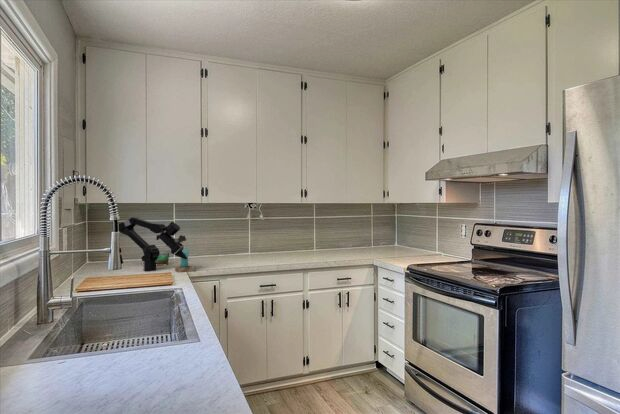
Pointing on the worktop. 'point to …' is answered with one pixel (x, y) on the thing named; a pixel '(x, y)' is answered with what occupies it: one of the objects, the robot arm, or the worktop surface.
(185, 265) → the peg
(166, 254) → the food container
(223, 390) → the worktop surface
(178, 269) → the socket plate
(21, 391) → the worktop surface
